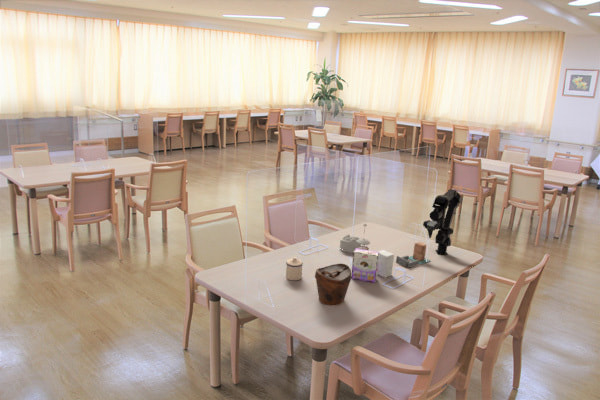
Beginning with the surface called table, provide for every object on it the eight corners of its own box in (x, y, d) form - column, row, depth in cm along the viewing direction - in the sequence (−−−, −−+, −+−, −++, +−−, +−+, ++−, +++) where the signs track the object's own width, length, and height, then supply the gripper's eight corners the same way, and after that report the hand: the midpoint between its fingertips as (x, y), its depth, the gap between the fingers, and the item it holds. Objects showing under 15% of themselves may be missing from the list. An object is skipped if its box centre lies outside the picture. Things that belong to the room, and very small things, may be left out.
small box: (391, 275, 282) (394, 254, 279) (384, 278, 278) (386, 256, 275) (381, 270, 288) (383, 249, 284) (373, 272, 284) (376, 251, 281)
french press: (351, 264, 294) (354, 224, 286) (356, 257, 304) (360, 219, 297) (367, 267, 290) (371, 227, 283) (372, 260, 301) (376, 221, 293)
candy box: (377, 279, 277) (380, 251, 272) (375, 283, 271) (378, 255, 267) (353, 274, 281) (355, 247, 276) (350, 278, 276) (353, 251, 271)
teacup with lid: (304, 279, 271) (306, 259, 268) (290, 281, 267) (291, 262, 264) (294, 270, 281) (296, 251, 278) (280, 272, 277) (281, 253, 274)
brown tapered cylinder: (307, 304, 244) (310, 271, 239) (320, 288, 262) (323, 257, 257) (341, 313, 238) (345, 280, 233) (352, 296, 256) (356, 264, 251)
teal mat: (416, 255, 313) (416, 254, 313) (430, 261, 305) (430, 260, 304) (406, 258, 307) (406, 257, 307) (420, 264, 299) (420, 264, 299)
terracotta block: (418, 256, 309) (420, 242, 306) (424, 259, 305) (426, 244, 302) (412, 258, 306) (414, 243, 303) (419, 261, 302) (421, 246, 300)
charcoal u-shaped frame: (406, 258, 306) (407, 253, 305) (418, 264, 299) (419, 258, 298) (396, 262, 300) (396, 256, 299) (407, 267, 294) (408, 261, 292)
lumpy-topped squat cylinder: (362, 251, 314) (363, 238, 312) (344, 253, 309) (345, 240, 306) (353, 245, 323) (354, 232, 321) (336, 247, 318) (337, 234, 315)
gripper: (418, 213, 301) (415, 237, 305) (443, 223, 287) (440, 248, 291) (430, 211, 307) (427, 234, 312) (455, 220, 293) (451, 244, 298)
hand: (436, 240), depth 303 cm, fingers open, 9 cm apart
